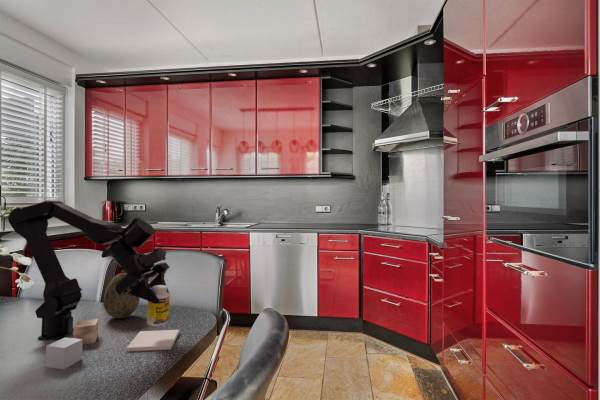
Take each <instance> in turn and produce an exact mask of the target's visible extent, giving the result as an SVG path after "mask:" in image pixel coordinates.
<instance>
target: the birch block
mask: <svg viewBox="0 0 600 400" xmlns="http://www.w3.org/2000/svg"><path fill="white" fill-rule="evenodd" d="M73 328H74V330H73V338H76V339H82V345H88V344H96V341H97V338H98V331H99V330H98V329H99V318H95V319H87V320H86V319H85V320H77V321H76V323H75V325H73Z"/></svg>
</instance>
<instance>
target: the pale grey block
mask: <svg viewBox="0 0 600 400" xmlns="http://www.w3.org/2000/svg"><path fill="white" fill-rule="evenodd" d="M45 348H46V349H45V350H46V352H45V367H46V368H50V369H58V370H59V369H60V370H66V369H67V368H69V367H70V366H72V365H75V364H76V363H78V362H79V361H82V359H83V344H82V339H76V338H74V337H66V336H65V337H64V338H60V339H59V340H58V339H57V340H56V341H54V342H51V343H49V344H47V345H46V347H45Z"/></svg>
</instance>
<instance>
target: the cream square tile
mask: <svg viewBox="0 0 600 400" xmlns="http://www.w3.org/2000/svg"><path fill="white" fill-rule="evenodd" d="M179 334H180V329H166V330H165V329H164V330H162V329H161V330H142V331H139V332H138V333H137V334H136V336H135V337H133V339H132V340H131V342H130V343H129V344H128V345H127V346H126V352H140V351H141V352H144V351H164V350H165V351H166V350H171V349H172V348H173V345H174V344H175V341H176V340H177V338H178V336H179Z"/></svg>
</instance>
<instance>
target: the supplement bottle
mask: <svg viewBox="0 0 600 400" xmlns="http://www.w3.org/2000/svg"><path fill="white" fill-rule="evenodd" d="M167 288H168V286H167V284H166V285H156V286H153V287H152V288H151V289H152V290H153V292H154V293H155V295H156V296H157V298H158V299H159V303H157V304H155V303H152V302H150V301H147V319H146V323H147V325H149V326H152V327H159V326H163V325H166V324H167V323H168V322H169V318H170V317H169V316H170V299H171V298H170V296H171V294H169V293H170V292H169V293H168V292H167Z"/></svg>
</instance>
